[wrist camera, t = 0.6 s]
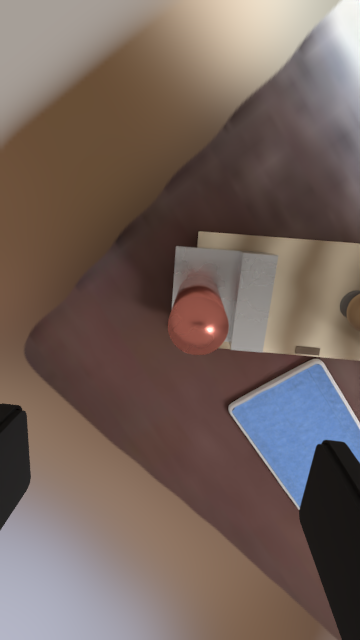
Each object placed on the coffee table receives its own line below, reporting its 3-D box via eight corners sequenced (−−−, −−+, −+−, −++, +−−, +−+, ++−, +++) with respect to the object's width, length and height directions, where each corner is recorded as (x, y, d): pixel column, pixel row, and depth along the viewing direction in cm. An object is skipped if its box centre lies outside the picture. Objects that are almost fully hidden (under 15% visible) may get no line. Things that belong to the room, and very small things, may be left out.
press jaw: (268, 252, 29) (311, 265, 18) (255, 339, 32) (285, 396, 21) (177, 245, 30) (164, 254, 19) (171, 331, 32) (156, 384, 21)
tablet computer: (386, 469, 39) (393, 477, 38) (298, 507, 41) (301, 516, 40) (316, 352, 35) (321, 357, 34) (224, 403, 38) (225, 409, 36)
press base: (424, 248, 31) (487, 253, 24) (391, 357, 34) (439, 387, 27) (198, 231, 31) (198, 231, 25) (189, 338, 35) (187, 364, 28)
